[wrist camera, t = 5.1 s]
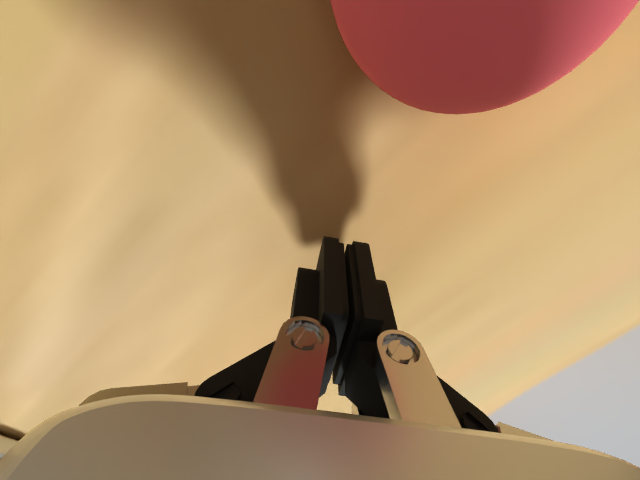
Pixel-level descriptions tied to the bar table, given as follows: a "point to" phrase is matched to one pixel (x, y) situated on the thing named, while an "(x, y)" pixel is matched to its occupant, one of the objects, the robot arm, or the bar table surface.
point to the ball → (472, 46)
